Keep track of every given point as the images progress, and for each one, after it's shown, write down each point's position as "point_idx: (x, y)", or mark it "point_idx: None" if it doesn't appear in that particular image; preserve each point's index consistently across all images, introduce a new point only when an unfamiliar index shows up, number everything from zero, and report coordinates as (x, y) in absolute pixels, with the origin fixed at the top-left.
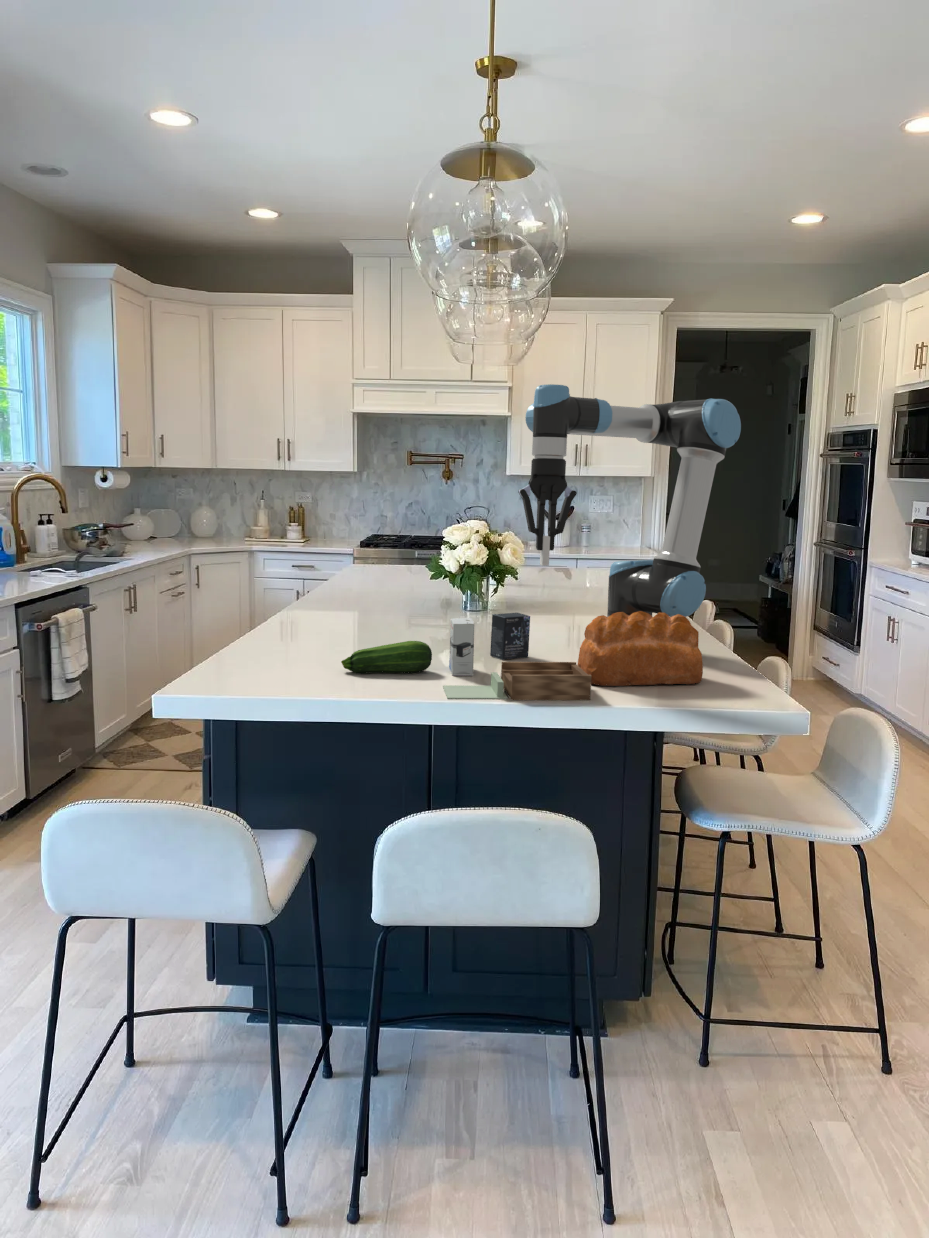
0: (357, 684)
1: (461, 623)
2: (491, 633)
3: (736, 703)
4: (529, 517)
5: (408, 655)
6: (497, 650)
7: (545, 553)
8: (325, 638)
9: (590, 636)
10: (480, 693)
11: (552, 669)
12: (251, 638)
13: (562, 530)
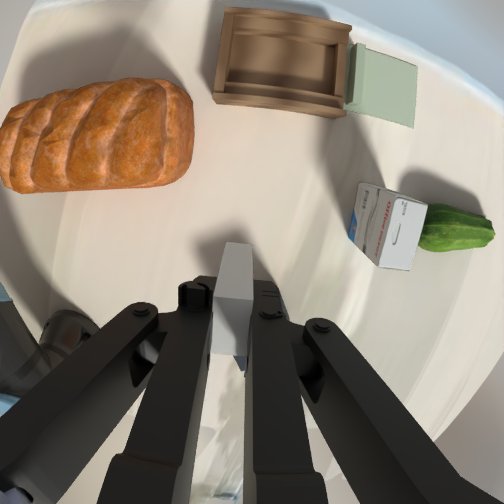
0: (486, 167)
1: (415, 206)
2: None
3: (58, 27)
4: (371, 381)
5: (451, 208)
6: (284, 306)
7: (239, 261)
8: (432, 396)
9: (164, 124)
10: (376, 72)
11: (257, 94)
12: (480, 384)
13: (129, 310)
